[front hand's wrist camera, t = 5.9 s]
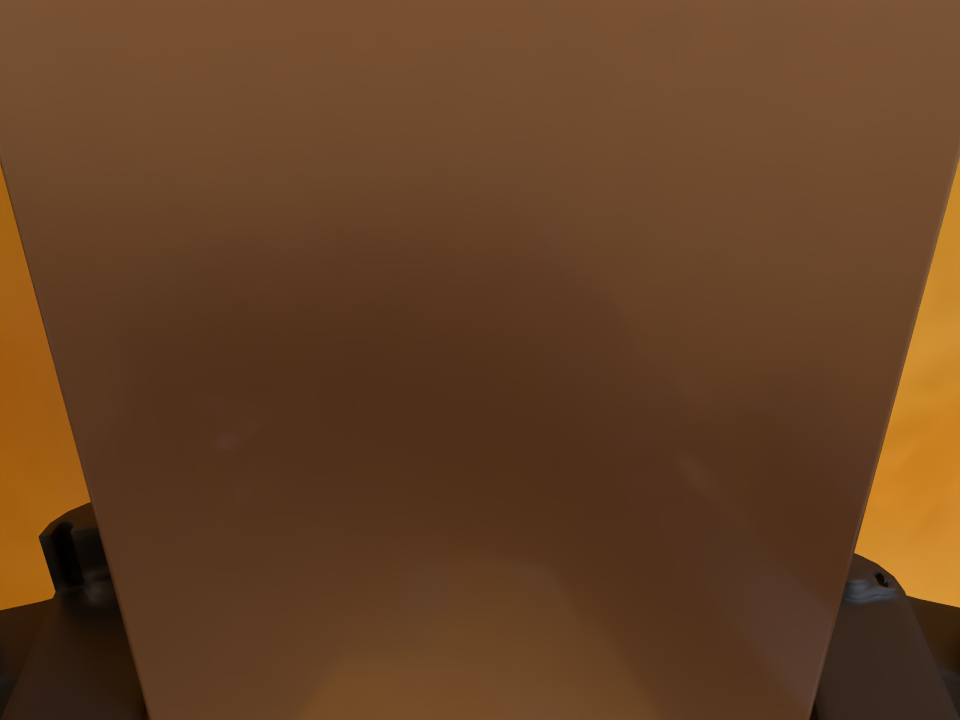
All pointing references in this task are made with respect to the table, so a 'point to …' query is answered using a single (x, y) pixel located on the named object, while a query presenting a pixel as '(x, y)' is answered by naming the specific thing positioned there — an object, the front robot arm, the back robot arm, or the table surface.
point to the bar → (479, 335)
